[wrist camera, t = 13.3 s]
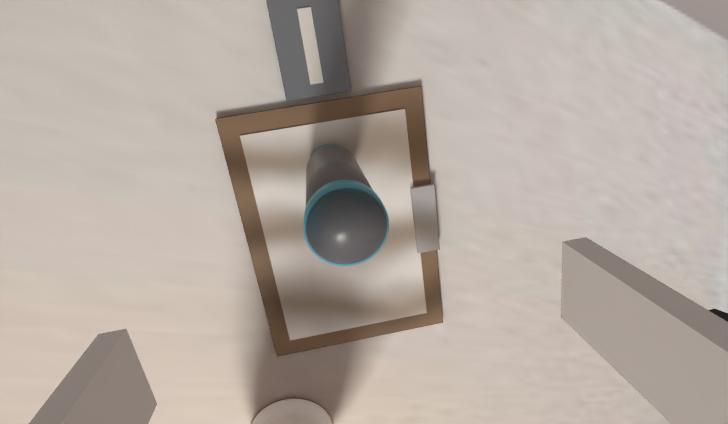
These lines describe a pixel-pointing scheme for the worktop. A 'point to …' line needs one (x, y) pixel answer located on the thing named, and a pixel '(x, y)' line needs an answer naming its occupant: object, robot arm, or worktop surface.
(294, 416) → the jar
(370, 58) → the worktop surface
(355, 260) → the grey and teal cylinder
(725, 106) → the worktop surface
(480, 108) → the worktop surface
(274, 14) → the grey slotted plate
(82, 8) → the worktop surface
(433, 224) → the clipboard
